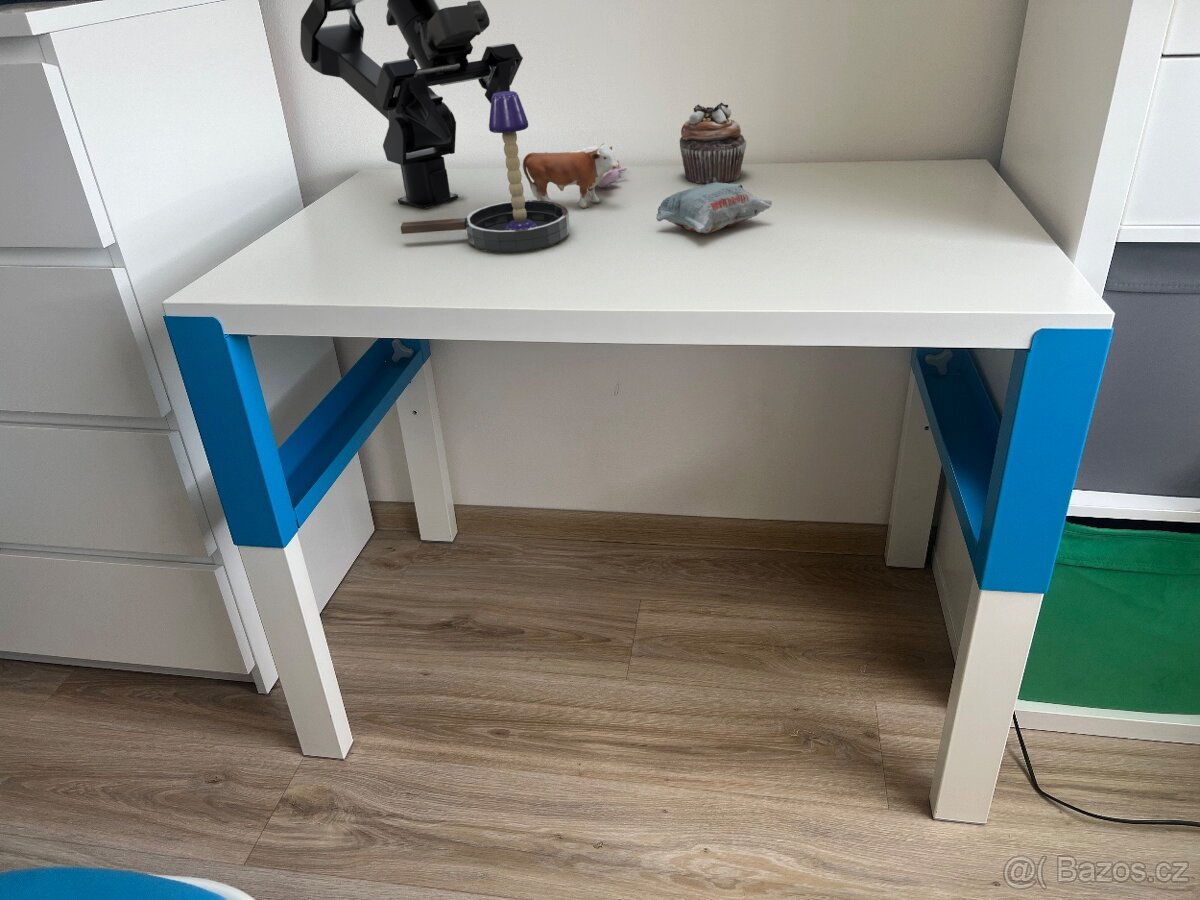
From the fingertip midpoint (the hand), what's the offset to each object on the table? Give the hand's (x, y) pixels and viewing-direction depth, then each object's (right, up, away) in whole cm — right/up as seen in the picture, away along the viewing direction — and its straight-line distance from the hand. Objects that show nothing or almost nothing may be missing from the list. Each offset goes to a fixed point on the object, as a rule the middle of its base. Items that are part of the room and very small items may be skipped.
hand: (481, 132), depth 108 cm
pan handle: (-6, -12, +1) cm, 13 cm away
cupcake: (+31, +1, +21) cm, 38 cm away
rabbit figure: (+15, -1, +20) cm, 25 cm away
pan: (+4, -13, +2) cm, 14 cm away
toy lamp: (+5, -12, +2) cm, 13 cm away
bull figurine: (+11, -6, +12) cm, 18 cm away
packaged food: (+29, -12, +1) cm, 31 cm away
